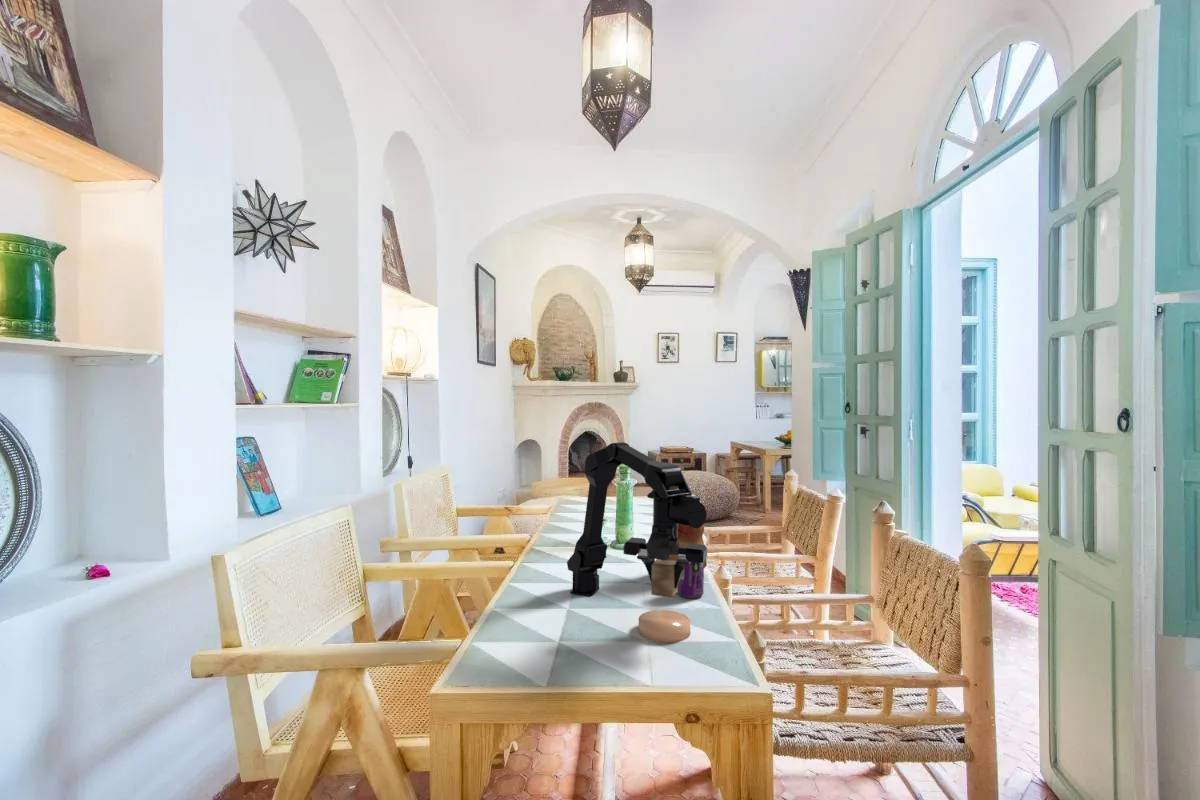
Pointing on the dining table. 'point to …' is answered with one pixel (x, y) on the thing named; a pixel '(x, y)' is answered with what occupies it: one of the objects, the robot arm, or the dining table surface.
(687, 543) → the butternut squash
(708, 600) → the dining table surface
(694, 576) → the beverage can
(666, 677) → the dining table surface
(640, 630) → the terracotta disc
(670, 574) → the walnut block
